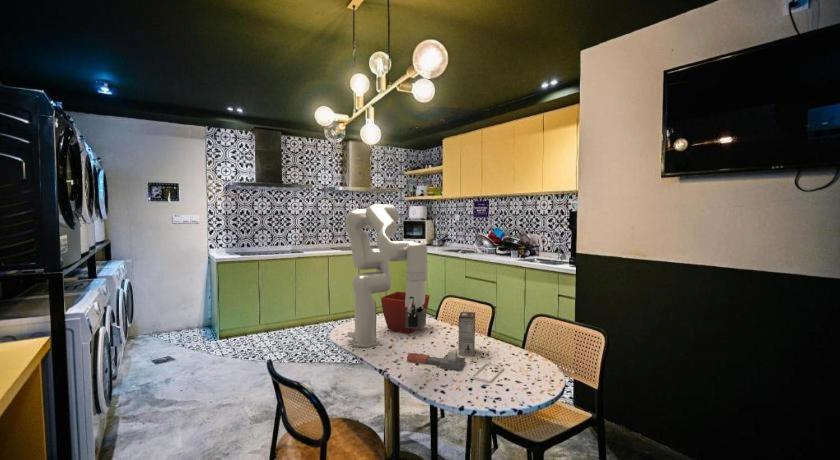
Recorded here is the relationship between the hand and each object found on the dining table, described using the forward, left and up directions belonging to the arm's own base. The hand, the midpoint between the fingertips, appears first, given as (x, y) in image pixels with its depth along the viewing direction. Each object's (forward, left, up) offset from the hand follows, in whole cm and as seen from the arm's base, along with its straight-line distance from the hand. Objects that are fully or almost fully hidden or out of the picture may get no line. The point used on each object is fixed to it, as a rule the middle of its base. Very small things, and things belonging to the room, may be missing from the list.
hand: (415, 324), depth 146 cm
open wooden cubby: (0, 0, -1) cm, 1 cm away
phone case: (+26, +6, -18) cm, 32 cm away
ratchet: (+4, +9, -17) cm, 20 cm away
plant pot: (-22, +48, -17) cm, 55 cm away
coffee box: (+14, +26, -17) cm, 34 cm away
